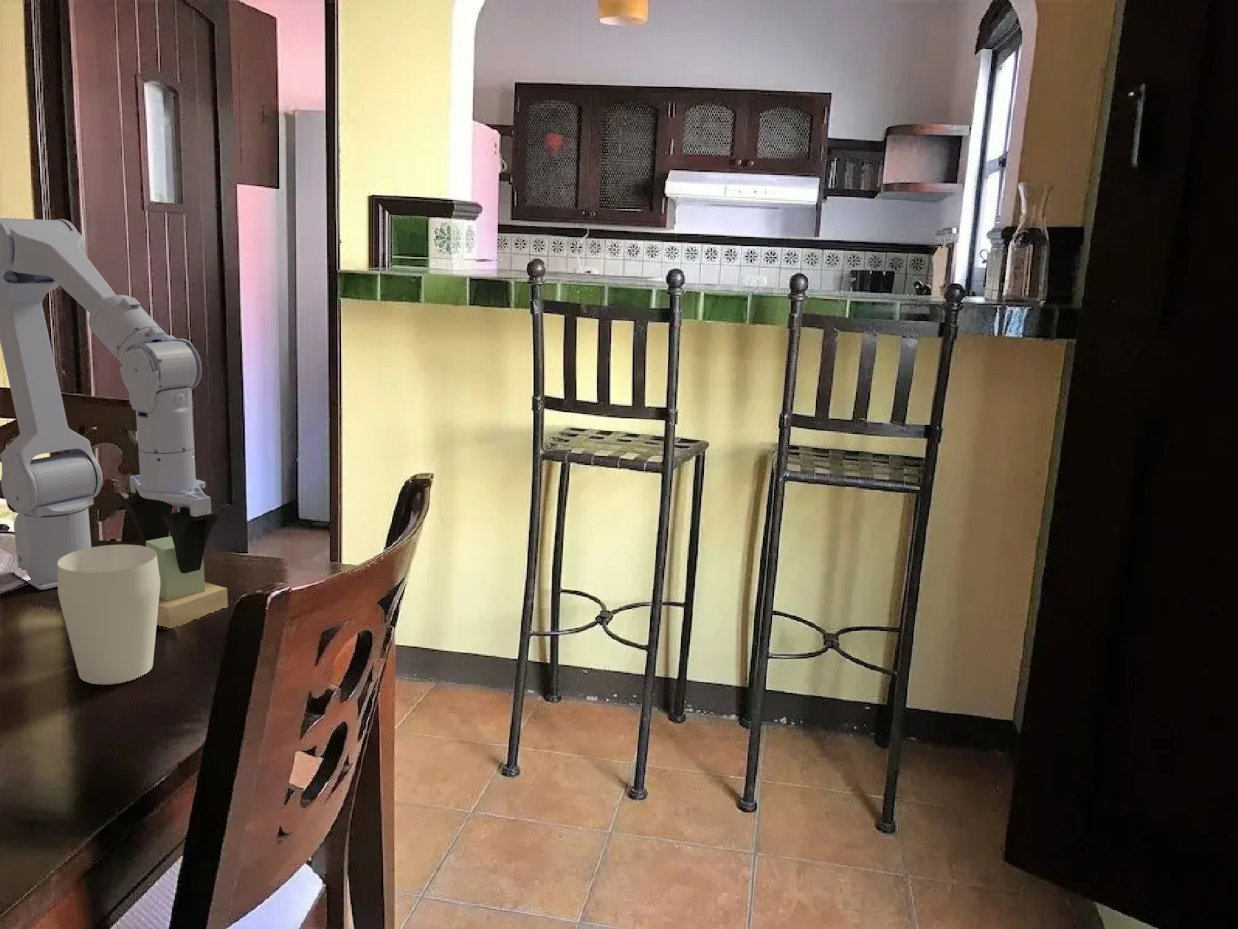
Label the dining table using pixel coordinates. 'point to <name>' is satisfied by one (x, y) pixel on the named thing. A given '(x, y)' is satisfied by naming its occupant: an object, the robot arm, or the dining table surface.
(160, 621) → the beech base
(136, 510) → the robot arm
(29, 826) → the dining table surface
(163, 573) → the green block
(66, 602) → the cup
